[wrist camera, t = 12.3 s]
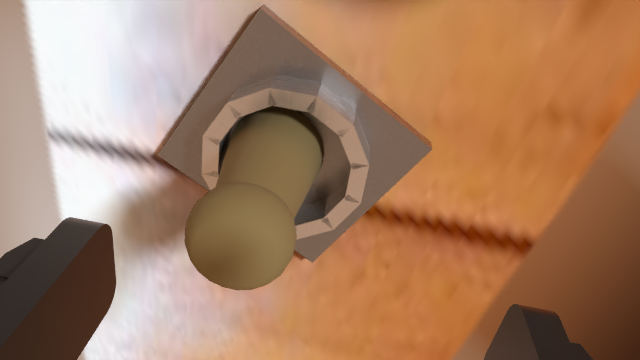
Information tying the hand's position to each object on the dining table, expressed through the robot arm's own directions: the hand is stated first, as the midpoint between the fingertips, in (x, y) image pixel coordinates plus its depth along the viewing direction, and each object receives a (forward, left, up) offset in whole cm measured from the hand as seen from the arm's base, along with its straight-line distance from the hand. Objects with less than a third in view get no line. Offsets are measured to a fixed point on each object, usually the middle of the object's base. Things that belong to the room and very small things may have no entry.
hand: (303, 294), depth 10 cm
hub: (+1, -8, -21) cm, 23 cm away
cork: (+1, -8, -20) cm, 22 cm away
